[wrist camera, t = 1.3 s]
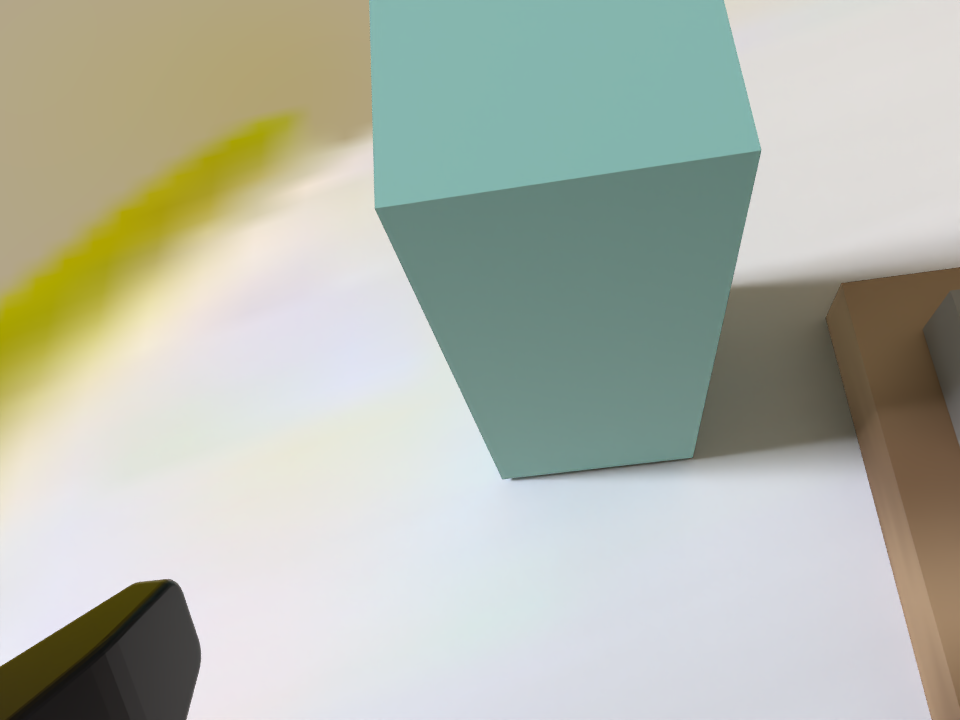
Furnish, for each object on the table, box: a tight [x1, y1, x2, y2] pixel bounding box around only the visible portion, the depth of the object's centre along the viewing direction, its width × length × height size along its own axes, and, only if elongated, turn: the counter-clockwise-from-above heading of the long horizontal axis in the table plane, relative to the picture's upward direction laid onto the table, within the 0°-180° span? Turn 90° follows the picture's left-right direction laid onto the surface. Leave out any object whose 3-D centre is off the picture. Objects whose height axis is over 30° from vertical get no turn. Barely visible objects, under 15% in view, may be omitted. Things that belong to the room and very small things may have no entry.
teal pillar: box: [369, 0, 761, 479], centre depth 18 cm, size 5×5×13 cm
